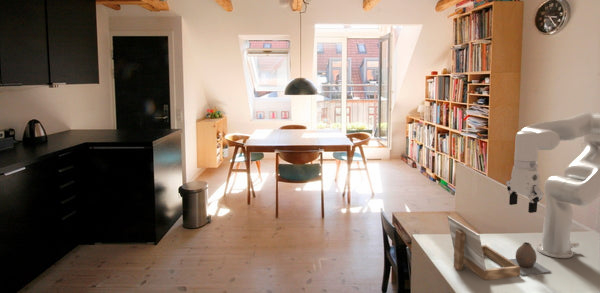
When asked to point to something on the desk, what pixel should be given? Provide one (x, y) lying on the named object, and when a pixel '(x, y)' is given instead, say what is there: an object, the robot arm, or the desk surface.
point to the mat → (531, 269)
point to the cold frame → (478, 254)
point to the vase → (526, 255)
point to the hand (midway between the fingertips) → (522, 208)
